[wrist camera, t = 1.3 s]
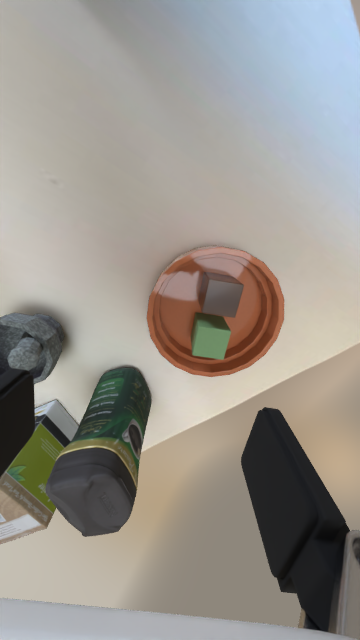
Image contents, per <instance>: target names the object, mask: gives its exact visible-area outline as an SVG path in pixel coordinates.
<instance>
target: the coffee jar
mask: <svg viewBox="0 0 360 640" xmlns="http://www.w3.org/2000/svg"><path fill="white" fill-rule="evenodd" d="M150 407H151V396H150V393H149V389H148V387H147V385H146V382H145V380H144V379H143V377H142V375H141V374H140V373H139V372H138V371H137V370H135V369H132V368H119V369H115V370H111V371H109V372H107V373H105V374H104V375H102V377H101V378H100V380H99V382H98V384H97V386H96V388H95V390H94V393H93V395H92V398H91V400H90V403H89V405H88V408H87V410H86V412H85V414H84V416H83V419H82V421H81V423H80V425H79V427H78V429H77V431H76V433H75V435H74V437H73V439H72V440H71V442H70V443H69V444H68V445H67V446H66V447H65V448H64V449H63V450H62V452H61V453H60V454H59V456H58V457H57V459H56V462H55V464H54V466H53V469H52V471H51V474H50V476H49V478H48V481H47V483H46V487H45V491H46V494H47V496H48V497H49V499H50V500H51V501H52V503H53V504H54V505H55V507H56V508H57V509H58V510H59V511H60V513H61V514H62V515H63V516H64V517H65V519H66V520H67V521H68V522H69V523H70V524H71V525H73V526H74V527H75V528H76V529H78V530H79V531H80V532H81V533H82V535H83V536H85V537H87V536H96V535H103V534H109V533H114V532H117V531H119V530H120V528H121V527H122V526H123V525H124V524H125V523H126V522H127V520H128V519H129V517H130V514H131V511H132V508H133V505H134V501H135V497H136V491H137V483H138V469H139V460H140V454H141V449H142V444H143V439H144V434H145V430H146V425H147V421H148V416H149V412H150Z"/></svg>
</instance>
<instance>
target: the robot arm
mask: <svg viewBox="0 0 360 640" xmlns="http://www.w3.org/2000/svg"><path fill="white" fill-rule="evenodd" d="M34 430H35V405H34V378H33V375H30V372H29V371H28V370H22V369H16V368H11V369H9V370H8V371H6V372H5V373H4V374H2V375H1V376H0V477H1V476H2V475H3V473H4V472H5V471H6V469H7V468H8V467H9V465H10V464H11V463H12V461H13V460H14V459H15V458H16V456H17V455H18V454H19V452H20V451H21V450H22V448H23V447H24V446H25V445H26V443H27V442H28V441H29V439H30V438H31V437H32V435H33V433H34ZM241 465H242V469H243V472H244V476H245V480H246V483H247V487H248V490H249V494H250V498H251V501H252V505H253V509H254V512H255V516H256V519H257V523H258V527H259V530H260V534H261V537H262V541H263V545H264V548H265V552H266V556H267V559H268V563H269V566H270V569H271V572H272V574H273V576H274V577H276V578H277V580H278V583H279V586H280V590H281V592H287V593H297V596H298V599H299V602H300V605H301V608H302V609H301V614H300V619H299V625H298V628H294V627H287V626H279V625H271V624H263V623H254V622H245V621H235V620H225V619H215V618H206V617H196V616H186V615H176V614H167V613H156V612H146V611H135V610H125V609H115V608H104V607H94V606H84V605H83V606H82V605H72V604H63V603H52V602H42V601H30V600H19V599H8V598H0V640H360V531H359V530H352V531H350V530H349V528H348V526H347V525H346V523H345V522H346V521H345V519H344V518H343V516H342V514H341V512H340V511H339V509H338V507H337V506H336V504H335V502H334V501H333V499H332V497H331V496H330V494H329V492H328V491H327V489H326V487H325V486H324V484H323V482H322V480H321V479H320V477H319V476H318V474H317V472H316V471H315V469H314V467H313V465H312V464H311V462H310V460H309V459H308V457H307V455H306V454H305V452H304V450H303V449H302V447H301V445H300V444H299V442H298V440H297V439H296V437H295V435H294V433H293V432H292V430H291V428H290V427H289V425H288V423H287V422H286V420H285V418H284V417H283V415H282V413H281V412H280V411H279V410H278V409H272V408H266V407H265V408H263V409H262V410H260V411H259V412H258V414H257V416H256V419H255V422H254V424H253V427H252V430H251V433H250V435H249V438H248V441H247V443H246V446H245V449H244V451H243V454H242V457H241Z"/></svg>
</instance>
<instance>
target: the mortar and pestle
mask: <svg viewBox="0 0 360 640" xmlns="http://www.w3.org/2000/svg"><path fill="white" fill-rule="evenodd" d="M63 339H64V334H63V331H62V327H61V325H60V324H59V323H58V322H56V321H55V320H54V319H53V318H52V317H51V316H46V315H41V314H36V315H33V316H30V315H25V314H19V313H12V314H8V315H5V316H3V317H1V318H0V376H1V375H2V374H4V373H5V372H6V371H8V370H9V369H11V368H16V369H22V370H28V371H29V372H30V375H33V378H34V384H35V383H38V382H40V381H43V380H45V379H46V378H47V377H48V376H49V375H50V374H51V372H52V370H53V369H54V367H55V365H56V363H57V361H58V359H59V356H60V354H61V352H62V345H61V343H62V341H63Z"/></svg>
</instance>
